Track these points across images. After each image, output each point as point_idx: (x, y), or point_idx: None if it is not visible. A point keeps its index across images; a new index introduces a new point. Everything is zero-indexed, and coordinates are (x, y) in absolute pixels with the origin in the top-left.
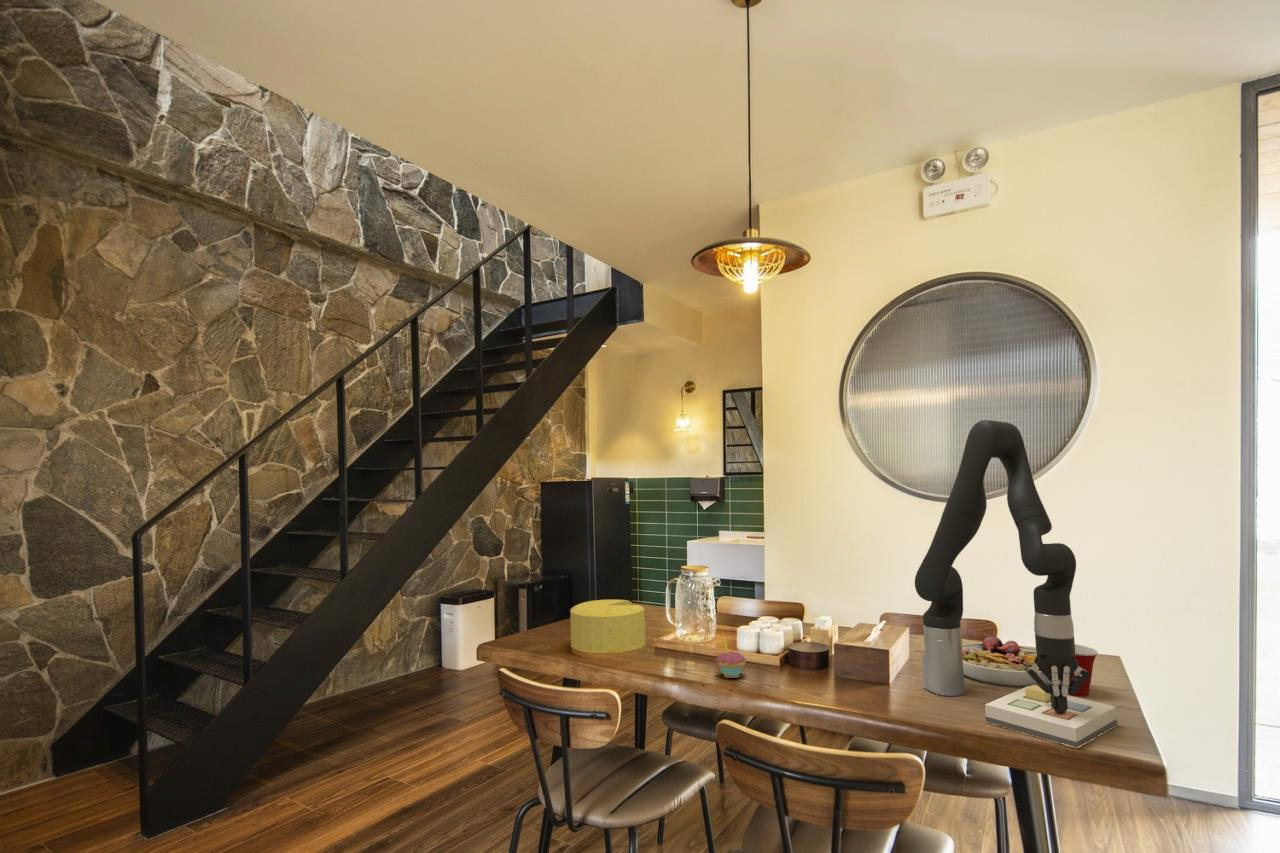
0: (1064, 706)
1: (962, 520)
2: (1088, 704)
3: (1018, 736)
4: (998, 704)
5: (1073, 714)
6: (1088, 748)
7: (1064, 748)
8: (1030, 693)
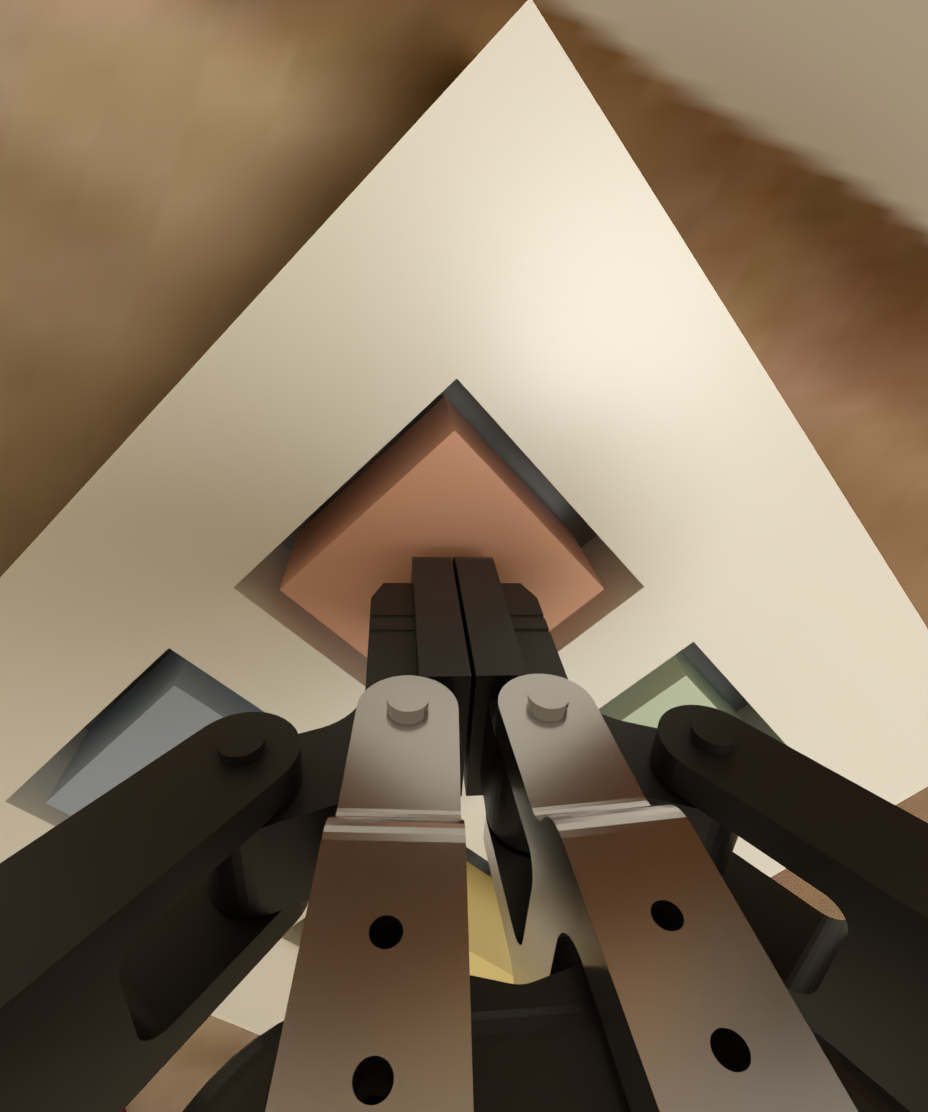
0: (421, 593)
1: None
2: None
3: (834, 401)
4: (884, 756)
5: (310, 568)
6: (351, 113)
7: (601, 100)
8: None
